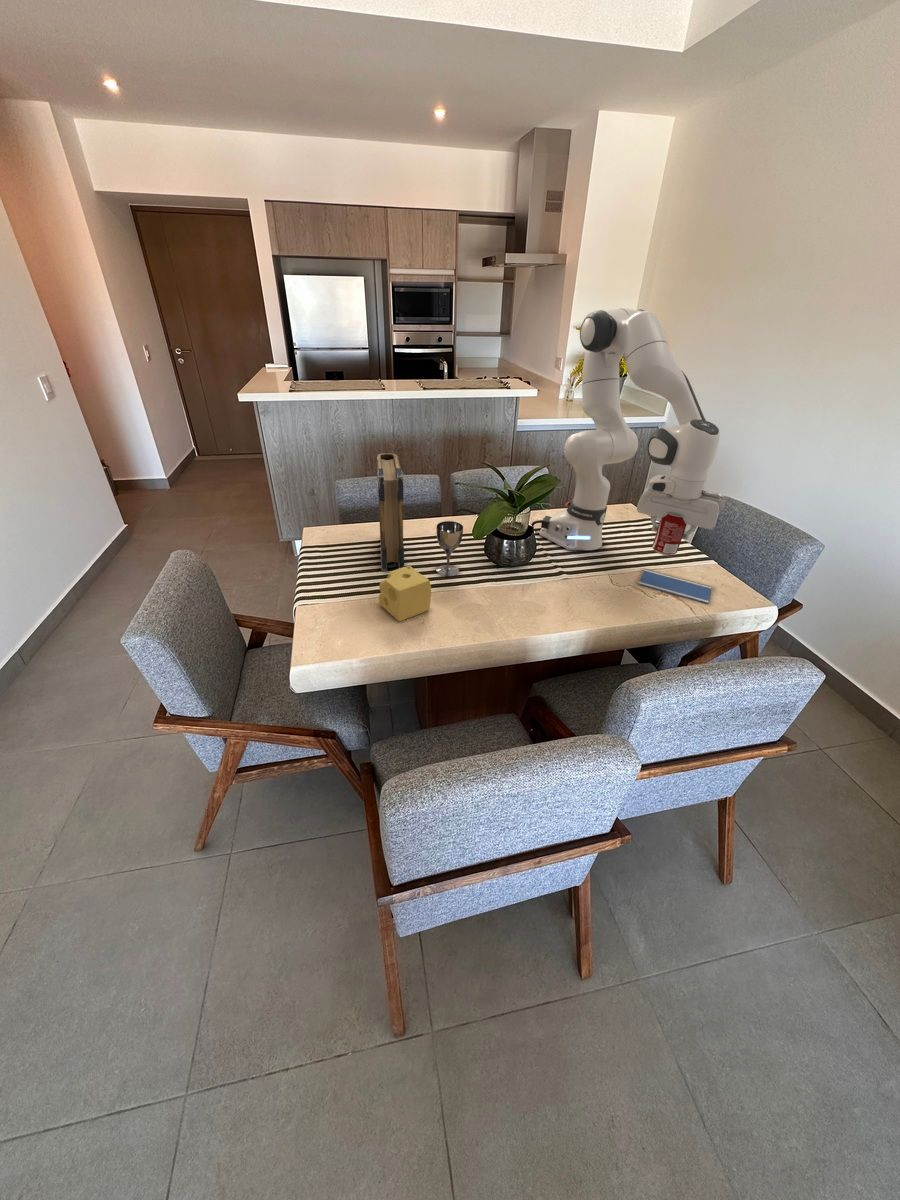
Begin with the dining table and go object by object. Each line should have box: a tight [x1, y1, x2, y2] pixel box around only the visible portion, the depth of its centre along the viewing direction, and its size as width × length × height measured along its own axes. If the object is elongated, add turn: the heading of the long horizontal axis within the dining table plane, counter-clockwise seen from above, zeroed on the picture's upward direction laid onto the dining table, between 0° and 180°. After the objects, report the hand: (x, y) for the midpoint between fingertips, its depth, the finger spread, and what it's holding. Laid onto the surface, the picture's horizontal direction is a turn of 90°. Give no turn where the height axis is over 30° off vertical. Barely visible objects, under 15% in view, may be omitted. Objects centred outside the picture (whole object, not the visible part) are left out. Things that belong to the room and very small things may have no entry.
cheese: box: [378, 565, 432, 622], centre depth 134 cm, size 10×11×10 cm
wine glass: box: [435, 520, 464, 577], centre depth 151 cm, size 8×8×15 cm
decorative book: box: [376, 452, 405, 572], centre depth 156 cm, size 23×7×30 cm, turn 9°
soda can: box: [651, 512, 688, 556], centre depth 137 cm, size 7×7×12 cm
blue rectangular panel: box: [638, 568, 712, 605], centre depth 153 cm, size 20×11×1 cm, turn 61°
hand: (669, 534), depth 137 cm, fingers closed on soda can, 7 cm apart
